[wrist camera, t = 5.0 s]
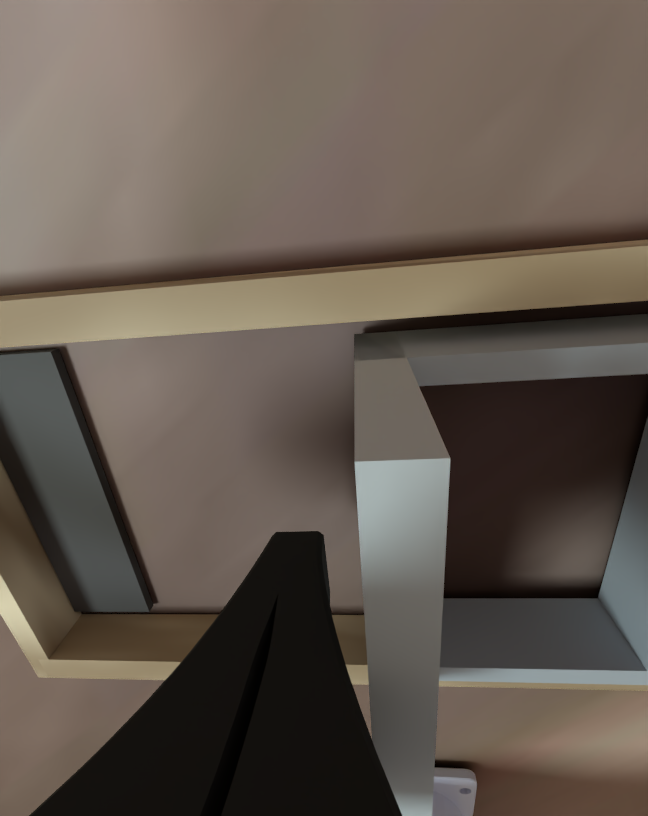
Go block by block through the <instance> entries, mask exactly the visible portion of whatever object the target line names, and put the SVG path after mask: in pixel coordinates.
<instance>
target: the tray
mask: <svg viewBox="0 0 648 816" xmlns="http://www.w3.org/2000/svg"><path fill="white" fill-rule="evenodd" d="M634 374H648V314H638V315H624V316H609V317H595V318H580V319H566V320H551V321H537V322H523V323H508V324H494V325H479V326H465V327H451V328H436V329H422V330H407V331H393V332H378V333H364V334H354V422H355V477H356V492H357V508H358V524H359V539H360V555H361V571H362V587H363V602H364V618H365V634H366V649H367V665H368V681H369V696H370V712H371V728H372V742H373V744H374V747H375V750H376V752H377V754H378V757H379V759H380V762H381V764H382V767H383V769H384V772H385V774H386V777H387V779H388V782H389V784H390V787H391V789H392V791H393V794H394V796H395V799H396V801H397V804H398V806H399V809H400V811H401V814H402V816H432V807H433V788H434V768H435V749H436V729H437V710H438V690H439V681H472V682H520V683H568V684H616V685H648V417H647V421H646V424H645V428H644V432H643V435H642V439H641V443H640V446H639V450H638V454H637V457H636V461H635V465H634V468H633V472H632V476H631V479H630V483H629V487H628V490H627V494H626V497H625V501H624V505H623V508H622V512H621V516H620V519H619V523H618V527H617V530H616V534H615V538H614V541H613V545H612V549H611V552H610V556H609V559H608V563H607V567H606V570H605V574H604V578H603V581H602V585H601V589H600V592H599V596H598V598H443V593H444V574H445V554H446V535H447V515H448V496H449V476H450V456H449V454H448V452H447V449H446V447H445V445H444V442H443V440H442V438H441V436H440V433H439V431H438V429H437V426H436V424H435V422H434V420H433V417H432V415H431V413H430V410H429V408H428V406H427V404H426V401H425V399H424V397H423V394H422V392H421V390H420V387H419V386H433V385H451V384H470V383H488V382H506V381H524V380H543V379H561V378H579V377H597V376H616V375H634Z"/></svg>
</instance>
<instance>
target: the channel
mask: <svg viewBox="0 0 648 816" xmlns="http://www.w3.org/2000/svg"><path fill="white" fill-rule="evenodd" d="M635 301H648V239H647V240H635V241H624V242H612V243H601V244H589V245H578V246H567V247H555V248H544V249H532V250H521V251H509V252H498V253H487V254H475V255H464V256H452V257H441V258H429V259H418V260H406V261H395V262H384V263H372V264H361V265H349V266H338V267H326V268H315V269H304V270H292V271H281V272H269V273H258V274H246V275H235V276H223V277H212V278H201V279H189V280H178V281H166V282H155V283H143V284H132V285H121V286H109V287H98V288H86V289H75V290H63V291H52V292H40V293H29V294H18V295H6V296H0V348H2V347H15V346H29V345H43V344H57V343H71V342H84V341H98V340H112V339H126V338H139V337H153V336H167V335H181V334H195V333H208V332H222V331H236V330H250V329H263V328H277V327H291V326H305V325H319V324H332V323H346V322H360V321H374V320H387V319H401V318H415V317H429V316H443V315H456V314H470V313H484V312H498V311H511V310H525V309H539V308H553V307H567V306H580V305H594V304H608V303H622V302H635ZM152 606H153V603H152V600H151V598H150V595H149V592H148V590H147V587H146V584H145V581H144V579H143V576H142V573H141V571H140V568H139V565H138V562H137V560H136V557H135V554H134V552H133V549H132V546H131V544H130V541H129V538H128V535H127V533H126V530H125V527H124V525H123V522H122V519H121V517H120V514H119V511H118V508H117V506H116V503H115V500H114V498H113V495H112V492H111V489H110V487H109V484H108V481H107V479H106V476H105V473H104V471H103V468H102V465H101V462H100V460H99V457H98V454H97V452H96V449H95V446H94V444H93V441H92V438H91V435H90V433H89V430H88V427H87V425H86V422H85V419H84V416H83V414H82V411H81V408H80V406H79V403H78V400H77V398H76V395H75V392H74V389H73V387H72V384H71V381H70V379H69V376H68V373H67V370H66V368H65V365H64V362H63V360H62V357H61V354H60V352H59V349H46V350H32V351H18V352H4V353H0V614H1V616H2V617H3V619H4V621H5V622H6V624H7V626H8V627H9V629H10V631H11V632H12V634H13V636H14V637H15V639H16V641H17V642H18V644H19V646H20V647H21V649H22V651H23V652H24V654H25V656H26V657H27V659H28V661H29V662H30V664H31V666H32V667H33V669H34V671H35V672H36V674H37V676H38V677H47V678H92V679H137V680H166V679H167V678H168V677H169V676H170V674H171V673H172V672H173V671H174V670H175V669H176V668H177V666H178V665H179V664H180V663H181V662H182V660H183V659H184V658H185V657H186V656H187V655H188V653H189V652H190V651H191V650H192V648H193V647H194V646H195V645H196V643H197V642H198V641H199V640H200V638H201V637H202V636H203V635H204V633H205V632H206V631H207V629H208V628H209V627H210V626H211V624H212V623H213V622H214V620H215V619H216V618H217V617H218V615H219V614H82V613H81V612H150V610H151V608H152ZM332 618H333V621H334V625H335V629H336V633H337V637H338V640H339V644H340V647H341V651H342V654H343V657H344V661H345V664H346V667H347V670H348V674H349V677H350V680H351V683H352V684H363V685H369V681H368V665H367V649H366V634H365V618H364V615H332ZM439 686H453V687H498V688H544V689H589V690H634V691H648V685H616V684H568V683H520V682H472V681H439Z"/></svg>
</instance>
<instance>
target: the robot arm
mask: <svg viewBox="0 0 648 816" xmlns="http://www.w3.org/2000/svg"><path fill="white" fill-rule="evenodd" d="M476 790H477V781H476V777H475V773H474V772H472V771H471V770H469V769H462V768H438V767H435V768H434V788H433V807H432V816H473V812H474V805H475V797H476ZM29 816H402V814H401V811H400V809H399V806H398V804H397V801H396V799H395V796H394V794H393V791H392V789H391V787H390V784H389V782H388V779H387V777H386V774H385V772H384V769H383V767H382V764H381V762H380V759H379V757H378V754H377V752H376V750H375V747H374V744H373V742H372V739H371V736H370V734H369V731H368V728H367V725H366V723H365V720H364V717H363V714H362V712H361V709H360V706H359V703H358V700H357V697H356V694H355V692H354V689H353V686H352V683H351V680H350V677H349V674H348V670H347V667H346V664H345V661H344V657H343V654H342V651H341V647H340V644H339V640H338V637H337V633H336V629H335V625H334V621H333V618H332V613H331V609H330V588H329V579H328V571H327V562H326V553H325V544H324V536H323V534H321V533H320V532H319V531H307V532H276V533H275V534H274V535H273V536H272V537H271V539H270V541H269V542H268V544H267V546H266V547H265V549H264V550H263V552H262V553H261V555H260V557H259V558H258V560H257V561H256V563H255V564H254V566H253V567H252V569H251V570H250V572H249V573H248V575H247V576H246V578H245V579H244V581H243V582H242V583H241V585H240V586H239V588H238V589H237V591H236V592H235V593H234V595H233V596H232V598H231V599H230V600H229V602H228V603H227V605H226V606H225V607H224V609H223V610H222V611H221V613H220V614H219V615H218V617H217V618H216V619H215V620H214V622H213V623H212V624H211V626H210V627H209V628H208V629H207V631H206V632H205V633H204V635H203V636H202V637H201V638H200V640H199V641H198V642H197V643H196V645H195V646H194V647H193V648H192V650H191V651H190V652H189V653H188V655H187V656H186V657H185V658H184V659H183V660H182V662H181V663H180V664H179V665H178V666H177V668H176V669H175V670H174V671H173V672H172V673H171V674H170V676H169V677H168V678H167V679H166V680H165V681H164V682H163V683H162V685H161V686H160V687H159V688H158V689H157V690H156V691H155V692H154V693H153V695H152V696H151V697H150V698H149V699H148V700H147V701H146V702H145V703H144V704H143V705H142V706H141V707H140V708H139V710H138V711H137V712H136V713H135V714H134V715H133V716H132V717H131V718H130V719H129V720H128V721H127V722H126V723H125V724H124V725H123V726H122V727H121V728H120V729H119V730H118V731H117V732H116V733H115V734H114V736H113V737H112V738H111V739H110V740H109V741H108V742H107V743H106V744H105V745H104V746H103V747H102V748H101V749H100V750H99V751H98V752H97V753H96V754H95V755H94V756H92V757H91V758H90V759H89V760H88V761H87V762H86V763H85V764H84V765H83V766H82V767H81V768H80V769H79V770H78V771H77V772H76V773H75V774H74V775H72V776H71V777H70V778H69V779H68V780H67V781H66V782H65V783H64V784H63V785H62V786H61V787H60V788H58V789H57V790H56V791H55V792H54V793H53V794H52V795H51V796H50V797H49V798H48V799H47V800H46V801H44V802H43V803H42V804H41V805H40V806H39V807H38V808H37V809H36V810H35V811H34V812H33V813H32V814H30V815H29Z"/></svg>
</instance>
